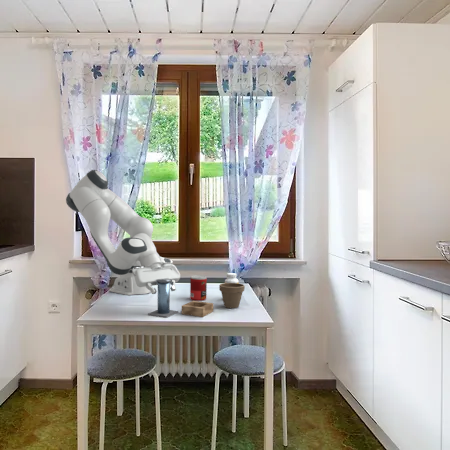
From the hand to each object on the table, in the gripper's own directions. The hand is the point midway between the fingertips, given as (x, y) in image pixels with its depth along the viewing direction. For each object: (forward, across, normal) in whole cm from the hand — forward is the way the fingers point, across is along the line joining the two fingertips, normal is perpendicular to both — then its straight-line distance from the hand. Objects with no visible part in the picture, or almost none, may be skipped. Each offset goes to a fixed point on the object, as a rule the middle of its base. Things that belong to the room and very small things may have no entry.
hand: (164, 291), depth 166 cm
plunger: (+6, 0, +6) cm, 9 cm away
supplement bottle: (+5, +39, +8) cm, 41 cm away
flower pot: (+12, +31, +1) cm, 33 cm away
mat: (+6, 0, +7) cm, 9 cm away
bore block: (+11, +12, +2) cm, 17 cm away
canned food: (-2, +27, +16) cm, 32 cm away
